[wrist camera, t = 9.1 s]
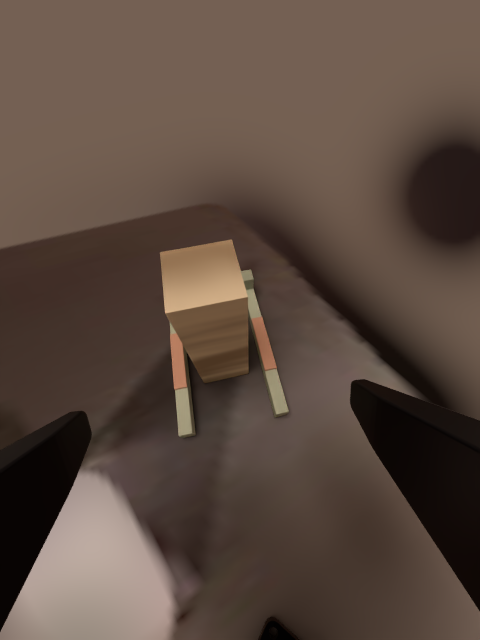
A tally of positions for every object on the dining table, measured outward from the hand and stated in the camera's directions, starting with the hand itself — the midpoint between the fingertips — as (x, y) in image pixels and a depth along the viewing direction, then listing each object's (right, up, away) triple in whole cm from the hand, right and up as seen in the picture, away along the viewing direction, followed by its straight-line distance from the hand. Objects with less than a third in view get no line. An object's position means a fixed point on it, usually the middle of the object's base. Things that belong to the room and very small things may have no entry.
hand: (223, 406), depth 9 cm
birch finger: (-1, -1, +15) cm, 15 cm away
